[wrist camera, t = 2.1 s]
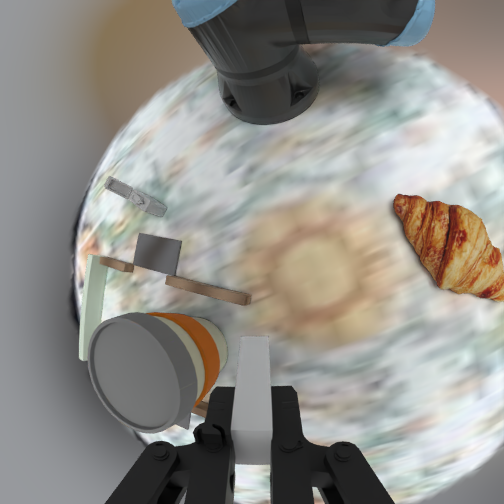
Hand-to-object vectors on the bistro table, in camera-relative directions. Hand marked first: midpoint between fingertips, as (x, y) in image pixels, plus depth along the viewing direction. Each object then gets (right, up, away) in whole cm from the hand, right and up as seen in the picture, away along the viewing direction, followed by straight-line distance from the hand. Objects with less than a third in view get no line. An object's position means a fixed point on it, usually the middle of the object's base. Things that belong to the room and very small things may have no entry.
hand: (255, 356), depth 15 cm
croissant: (+25, +5, +14) cm, 29 cm away
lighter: (-16, +13, +27) cm, 34 cm away
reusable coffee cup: (-8, -8, +22) cm, 24 cm away
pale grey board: (-27, -4, +28) cm, 39 cm away
